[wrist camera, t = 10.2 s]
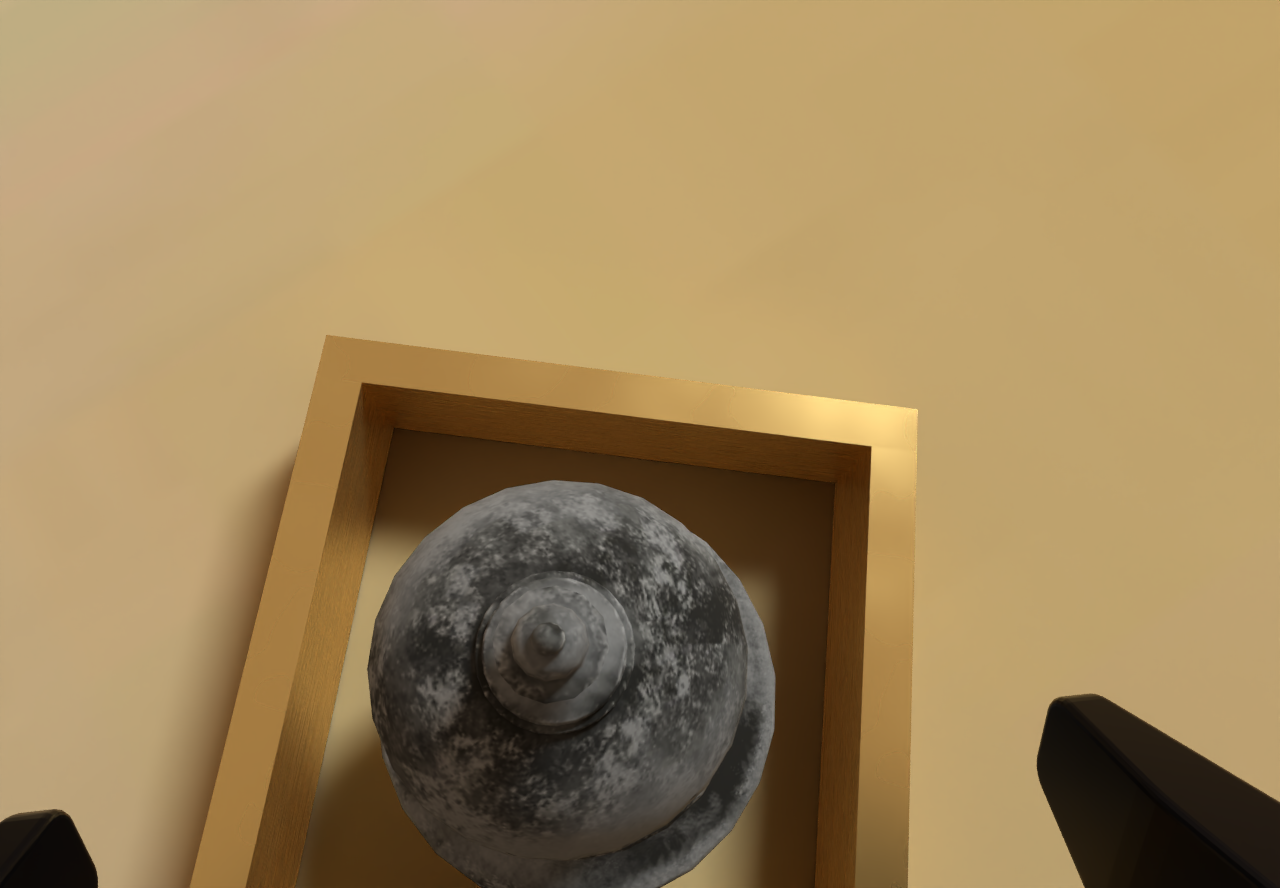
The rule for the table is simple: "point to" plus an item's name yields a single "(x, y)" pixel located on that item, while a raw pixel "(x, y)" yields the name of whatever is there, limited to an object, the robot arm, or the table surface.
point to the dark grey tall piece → (570, 690)
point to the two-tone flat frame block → (591, 422)
